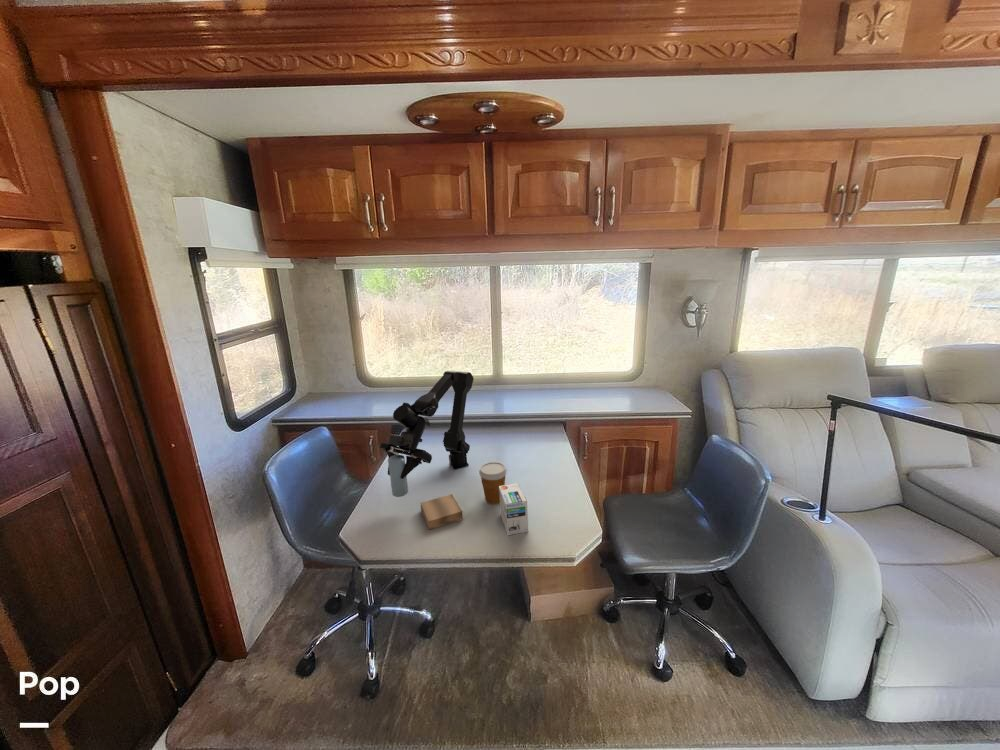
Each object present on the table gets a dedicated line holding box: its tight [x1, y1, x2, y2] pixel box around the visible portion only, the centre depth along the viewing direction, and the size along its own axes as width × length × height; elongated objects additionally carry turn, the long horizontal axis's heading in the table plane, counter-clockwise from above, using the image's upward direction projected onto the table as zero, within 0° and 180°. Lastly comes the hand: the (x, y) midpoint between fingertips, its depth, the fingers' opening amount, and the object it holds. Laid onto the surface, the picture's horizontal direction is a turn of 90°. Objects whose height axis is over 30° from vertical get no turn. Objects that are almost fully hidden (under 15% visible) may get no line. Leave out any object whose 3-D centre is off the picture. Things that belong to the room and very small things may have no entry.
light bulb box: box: [499, 482, 529, 536], centre depth 115 cm, size 11×7×11 cm, turn 12°
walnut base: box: [420, 493, 464, 530], centre depth 122 cm, size 11×11×3 cm
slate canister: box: [387, 454, 409, 498], centre depth 123 cm, size 5×5×12 cm
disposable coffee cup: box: [478, 461, 508, 505], centre depth 128 cm, size 10×10×12 cm
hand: (395, 476), depth 122 cm, fingers closed on slate canister, 5 cm apart
